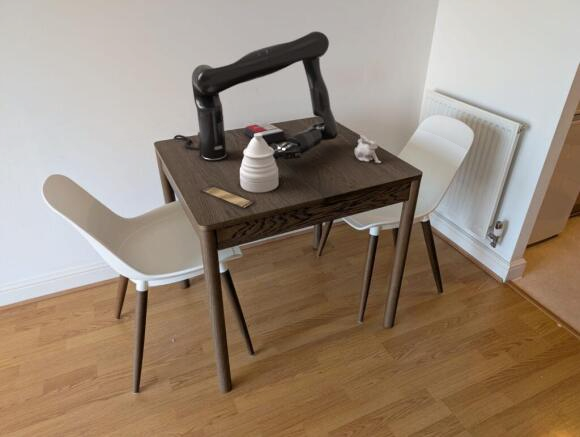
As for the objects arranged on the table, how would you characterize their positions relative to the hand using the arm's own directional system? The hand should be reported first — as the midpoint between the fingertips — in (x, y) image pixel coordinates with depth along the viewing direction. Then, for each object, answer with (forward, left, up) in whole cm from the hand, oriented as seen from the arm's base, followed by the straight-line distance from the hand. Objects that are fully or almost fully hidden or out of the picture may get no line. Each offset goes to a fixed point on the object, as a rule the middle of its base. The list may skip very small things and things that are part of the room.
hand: (270, 157), depth 143 cm
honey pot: (0, -6, -8) cm, 9 cm away
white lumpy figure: (+18, +33, -8) cm, 39 cm away
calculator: (-27, +29, -8) cm, 41 cm away
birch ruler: (-2, -19, -7) cm, 21 cm away
